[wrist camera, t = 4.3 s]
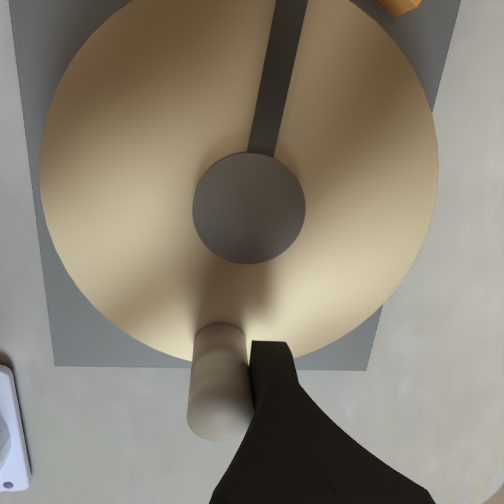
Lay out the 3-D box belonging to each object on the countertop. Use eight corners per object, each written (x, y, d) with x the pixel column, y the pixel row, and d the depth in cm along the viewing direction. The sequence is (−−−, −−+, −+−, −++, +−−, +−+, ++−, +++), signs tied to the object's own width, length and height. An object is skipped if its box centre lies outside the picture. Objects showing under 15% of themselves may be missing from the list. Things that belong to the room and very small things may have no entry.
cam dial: (-14, 217, 13) (-142, 280, 8) (222, -132, 10) (229, -333, 5) (257, 391, 17) (273, 498, 12) (482, 177, 14) (612, 214, 9)
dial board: (67, 344, 17) (40, 389, 14) (21, -89, 11) (-40, -149, 9) (354, 351, 19) (378, 392, 16) (443, -24, 13) (502, -57, 10)
